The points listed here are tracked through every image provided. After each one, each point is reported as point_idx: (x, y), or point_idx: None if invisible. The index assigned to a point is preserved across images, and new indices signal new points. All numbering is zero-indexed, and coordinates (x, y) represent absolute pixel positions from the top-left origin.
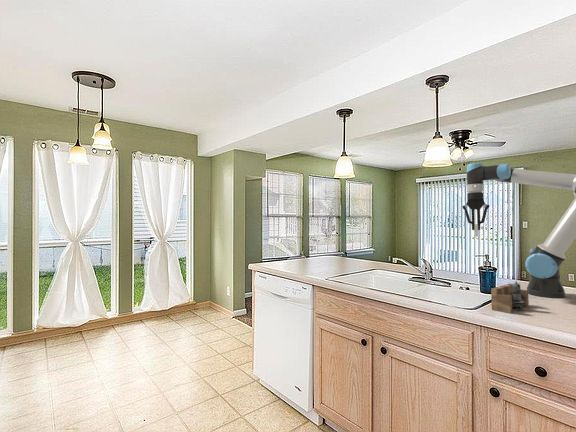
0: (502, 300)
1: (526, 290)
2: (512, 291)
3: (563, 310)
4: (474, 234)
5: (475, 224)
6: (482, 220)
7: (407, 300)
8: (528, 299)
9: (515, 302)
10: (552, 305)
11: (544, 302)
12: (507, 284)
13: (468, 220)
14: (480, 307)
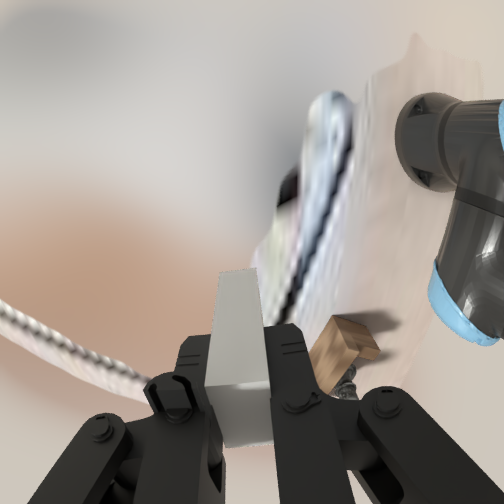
0: None
1: (376, 353)
2: (337, 395)
3: (421, 322)
4: (218, 285)
5: (240, 444)
6: (372, 481)
7: (109, 389)
8: (371, 336)
9: (334, 386)
10: (417, 286)
11: (411, 261)
12: (337, 367)
13: (120, 498)
14: None
